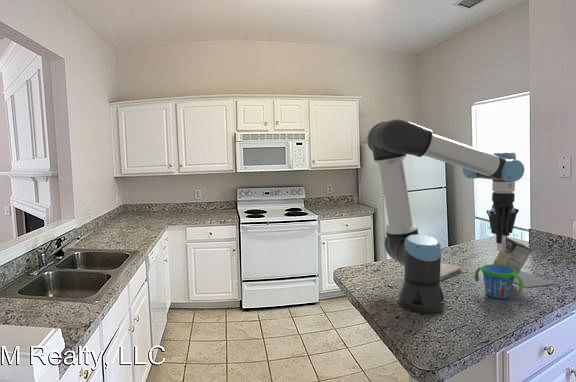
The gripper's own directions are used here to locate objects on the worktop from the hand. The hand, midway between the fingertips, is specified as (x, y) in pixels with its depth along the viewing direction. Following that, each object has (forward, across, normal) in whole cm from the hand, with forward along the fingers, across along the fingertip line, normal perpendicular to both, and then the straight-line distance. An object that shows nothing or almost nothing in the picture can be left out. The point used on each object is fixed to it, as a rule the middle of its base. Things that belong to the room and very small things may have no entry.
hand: (501, 250), depth 141 cm
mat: (+13, +11, 0) cm, 17 cm away
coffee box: (+12, 0, 0) cm, 12 cm away
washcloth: (+13, -16, +16) cm, 26 cm away
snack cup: (+13, -11, -11) cm, 20 cm away
